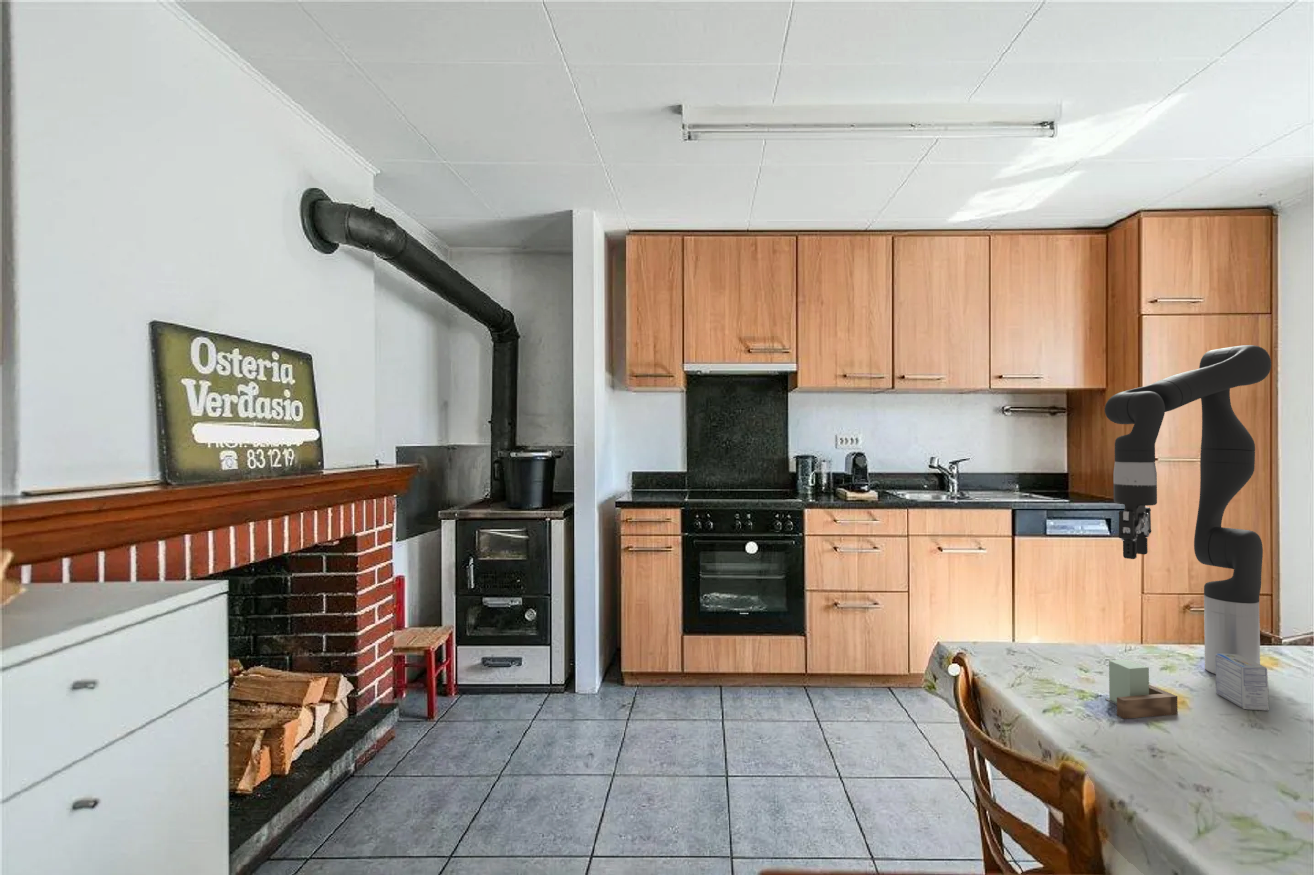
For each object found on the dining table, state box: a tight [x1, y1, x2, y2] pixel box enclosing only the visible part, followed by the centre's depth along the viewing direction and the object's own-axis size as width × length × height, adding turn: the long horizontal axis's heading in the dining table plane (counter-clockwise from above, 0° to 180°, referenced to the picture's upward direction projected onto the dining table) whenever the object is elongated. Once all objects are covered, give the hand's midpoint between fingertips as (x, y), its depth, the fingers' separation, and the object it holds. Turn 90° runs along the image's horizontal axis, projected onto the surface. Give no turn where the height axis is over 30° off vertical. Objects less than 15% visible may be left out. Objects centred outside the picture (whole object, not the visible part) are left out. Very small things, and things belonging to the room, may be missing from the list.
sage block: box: [1108, 658, 1150, 703], centre depth 123 cm, size 4×4×8 cm
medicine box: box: [1215, 654, 1270, 712], centre depth 123 cm, size 8×4×9 cm, turn 168°
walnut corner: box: [1105, 684, 1179, 720], centre depth 123 cm, size 12×12×4 cm
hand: (1135, 556), depth 133 cm, fingers open, 8 cm apart
